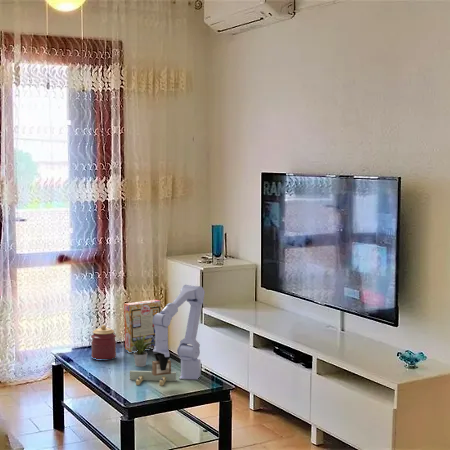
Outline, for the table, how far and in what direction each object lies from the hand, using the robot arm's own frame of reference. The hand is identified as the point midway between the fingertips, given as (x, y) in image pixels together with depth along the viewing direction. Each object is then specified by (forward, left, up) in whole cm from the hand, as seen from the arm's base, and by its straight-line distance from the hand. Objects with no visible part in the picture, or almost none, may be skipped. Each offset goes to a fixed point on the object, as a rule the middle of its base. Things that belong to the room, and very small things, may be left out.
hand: (161, 369), depth 329 cm
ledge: (+6, -7, -8) cm, 13 cm away
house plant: (+18, -35, -9) cm, 41 cm away
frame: (0, 0, -2) cm, 2 cm away
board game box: (+23, -68, -9) cm, 73 cm away
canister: (+40, -49, -9) cm, 64 cm away
